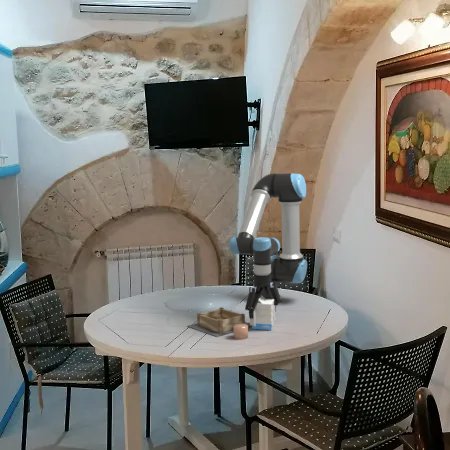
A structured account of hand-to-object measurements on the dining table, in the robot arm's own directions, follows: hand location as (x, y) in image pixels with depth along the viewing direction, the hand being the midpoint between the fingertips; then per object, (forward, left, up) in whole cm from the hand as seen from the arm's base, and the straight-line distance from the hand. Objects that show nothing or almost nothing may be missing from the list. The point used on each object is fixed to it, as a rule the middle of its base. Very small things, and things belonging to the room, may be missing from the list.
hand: (262, 322), depth 264 cm
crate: (+12, -14, -2) cm, 19 cm away
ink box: (0, 0, -2) cm, 2 cm away
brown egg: (+16, +3, -2) cm, 16 cm away
